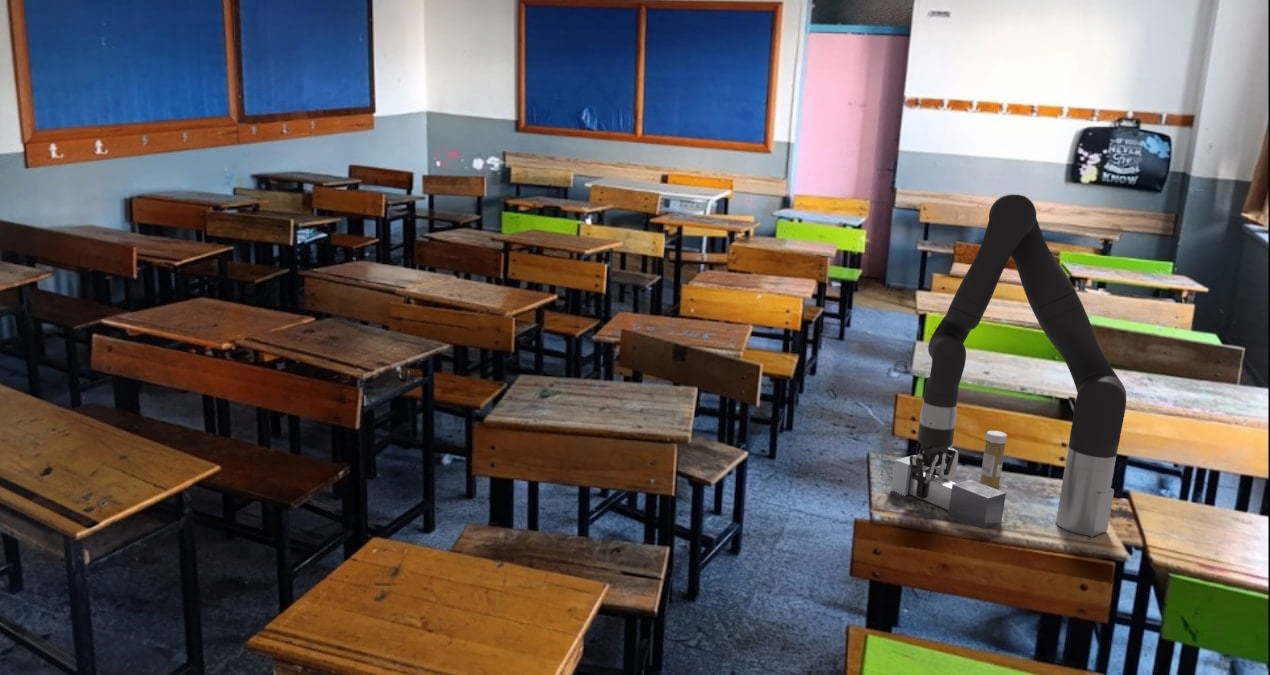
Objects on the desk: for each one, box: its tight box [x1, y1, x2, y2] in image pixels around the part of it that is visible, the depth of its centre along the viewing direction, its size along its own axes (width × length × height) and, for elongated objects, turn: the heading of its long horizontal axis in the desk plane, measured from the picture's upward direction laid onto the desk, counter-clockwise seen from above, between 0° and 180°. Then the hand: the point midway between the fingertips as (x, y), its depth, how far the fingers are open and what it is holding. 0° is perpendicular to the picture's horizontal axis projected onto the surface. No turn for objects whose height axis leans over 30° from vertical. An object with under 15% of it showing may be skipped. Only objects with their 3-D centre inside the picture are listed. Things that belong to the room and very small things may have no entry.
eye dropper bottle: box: [944, 443, 959, 483], centre depth 225 cm, size 4×6×12 cm
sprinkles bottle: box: [979, 430, 1008, 490], centre depth 223 cm, size 5×5×14 cm
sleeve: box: [947, 479, 1007, 530], centre depth 204 cm, size 9×6×7 cm
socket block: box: [891, 454, 928, 497], centre depth 218 cm, size 4×7×8 cm, turn 126°
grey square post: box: [907, 471, 957, 511], centre depth 212 cm, size 16×4×5 cm, turn 36°
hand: (927, 495), depth 215 cm, fingers closed on grey square post, 4 cm apart
